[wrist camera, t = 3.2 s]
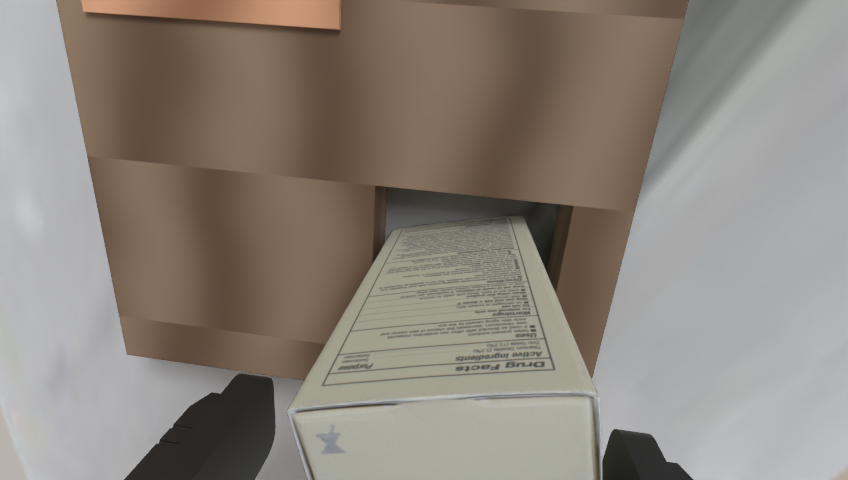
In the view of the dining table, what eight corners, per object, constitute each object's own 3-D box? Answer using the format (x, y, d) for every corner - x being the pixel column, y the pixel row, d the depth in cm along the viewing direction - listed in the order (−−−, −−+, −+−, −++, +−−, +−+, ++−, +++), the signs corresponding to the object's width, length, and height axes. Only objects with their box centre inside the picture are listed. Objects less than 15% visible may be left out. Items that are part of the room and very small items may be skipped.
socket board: (741, -343, 13) (807, -449, 10) (570, 384, 22) (582, 423, 19) (54, -337, 14) (-36, -426, 12) (161, 327, 24) (123, 356, 21)
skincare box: (406, 308, 21) (322, 563, 10) (390, 223, 20) (271, 408, 9) (536, 297, 20) (608, 569, 9) (529, 207, 19) (603, 395, 7)
